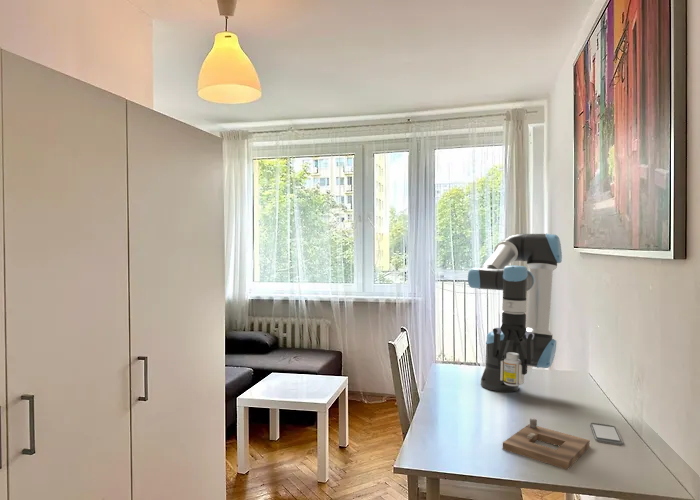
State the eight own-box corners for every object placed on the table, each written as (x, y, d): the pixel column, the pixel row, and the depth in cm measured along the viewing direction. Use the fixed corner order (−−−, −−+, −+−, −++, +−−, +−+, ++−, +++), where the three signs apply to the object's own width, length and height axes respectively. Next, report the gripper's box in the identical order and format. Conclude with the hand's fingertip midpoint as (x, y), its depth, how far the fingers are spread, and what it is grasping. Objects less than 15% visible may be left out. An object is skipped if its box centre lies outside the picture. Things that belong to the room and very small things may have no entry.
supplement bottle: (515, 381, 165) (516, 351, 165) (524, 386, 160) (524, 355, 159) (500, 381, 164) (501, 351, 164) (508, 387, 159) (509, 355, 158)
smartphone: (596, 439, 148) (590, 422, 162) (595, 442, 148) (589, 425, 162) (623, 443, 145) (614, 425, 160) (623, 447, 146) (614, 429, 160)
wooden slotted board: (529, 430, 156) (529, 416, 156) (589, 446, 144) (590, 432, 144) (502, 449, 141) (503, 434, 141) (567, 469, 129) (568, 453, 129)
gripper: (482, 310, 164) (480, 378, 165) (538, 317, 152) (535, 390, 153) (492, 307, 170) (490, 373, 171) (546, 314, 158) (544, 385, 159)
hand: (512, 381), depth 162 cm, fingers closed on supplement bottle, 6 cm apart
